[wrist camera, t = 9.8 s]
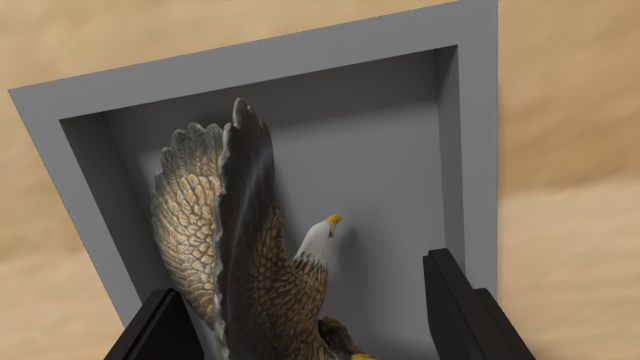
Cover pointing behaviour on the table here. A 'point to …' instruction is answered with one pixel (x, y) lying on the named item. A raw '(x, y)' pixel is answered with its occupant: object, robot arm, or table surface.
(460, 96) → the tray
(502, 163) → the table surface
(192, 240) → the eagle figurine
